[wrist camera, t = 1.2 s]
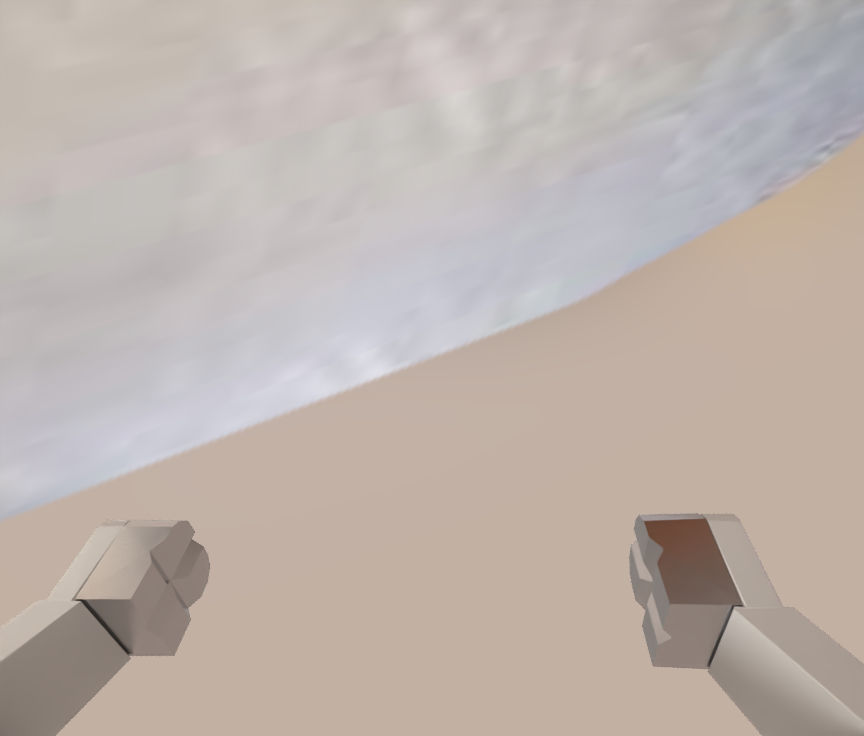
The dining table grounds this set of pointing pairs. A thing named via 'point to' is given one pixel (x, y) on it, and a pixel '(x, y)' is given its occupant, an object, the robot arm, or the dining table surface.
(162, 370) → the dining table surface
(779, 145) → the dining table surface
